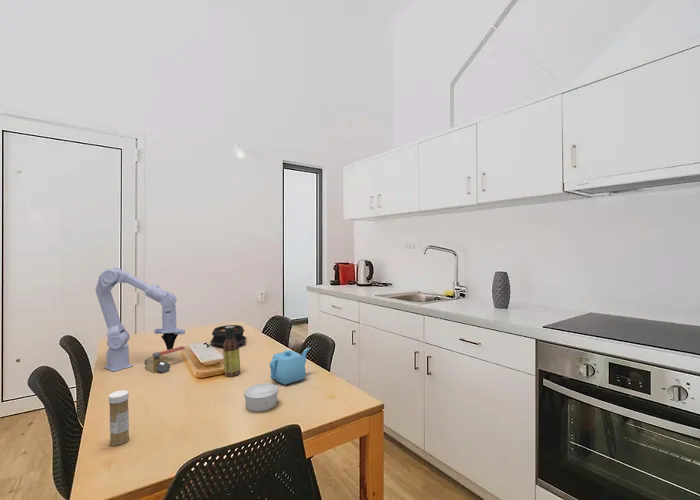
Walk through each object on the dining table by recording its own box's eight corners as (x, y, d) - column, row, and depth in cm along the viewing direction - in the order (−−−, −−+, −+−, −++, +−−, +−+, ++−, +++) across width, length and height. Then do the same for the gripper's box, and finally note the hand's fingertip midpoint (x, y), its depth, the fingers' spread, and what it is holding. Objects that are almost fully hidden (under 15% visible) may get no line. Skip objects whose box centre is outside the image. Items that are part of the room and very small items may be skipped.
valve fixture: (142, 368, 153) (141, 355, 153) (156, 364, 158) (155, 352, 158) (158, 374, 145) (157, 361, 145) (172, 370, 150) (172, 357, 150)
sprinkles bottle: (107, 442, 96) (106, 393, 95) (126, 435, 99) (125, 388, 99) (113, 448, 93) (111, 398, 92) (132, 441, 96) (130, 392, 96)
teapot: (318, 377, 140) (318, 348, 139) (278, 390, 128) (277, 359, 128) (302, 369, 149) (301, 342, 149) (263, 380, 138) (262, 351, 138)
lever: (151, 356, 151) (151, 353, 151) (181, 348, 162) (181, 345, 162) (154, 357, 149) (154, 355, 149) (185, 349, 161) (185, 346, 161)
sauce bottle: (243, 372, 146) (242, 325, 146) (233, 378, 140) (232, 328, 140) (230, 370, 148) (229, 324, 148) (220, 376, 142) (219, 327, 142)
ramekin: (261, 417, 108) (260, 400, 108) (236, 408, 114) (236, 392, 114) (285, 402, 118) (285, 387, 118) (262, 395, 124) (261, 380, 124)
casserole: (253, 345, 186) (253, 329, 186) (217, 352, 175) (217, 335, 175) (238, 335, 206) (237, 321, 206) (204, 341, 195) (204, 326, 195)
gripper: (149, 321, 159) (150, 351, 159) (177, 322, 156) (178, 352, 156) (160, 318, 166) (161, 346, 166) (187, 319, 163) (188, 348, 163)
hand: (170, 349), depth 161 cm, fingers closed
